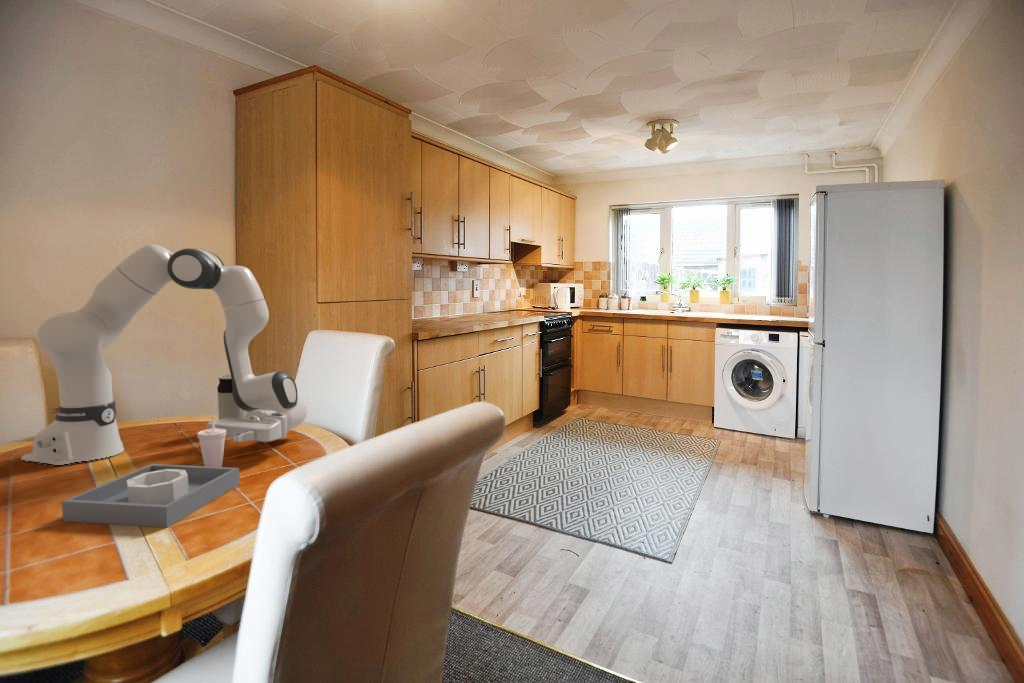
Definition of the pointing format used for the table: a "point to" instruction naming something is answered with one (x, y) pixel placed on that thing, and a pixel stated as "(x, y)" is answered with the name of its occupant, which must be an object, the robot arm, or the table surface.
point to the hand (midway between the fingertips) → (221, 437)
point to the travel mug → (228, 400)
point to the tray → (149, 513)
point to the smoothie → (212, 445)
